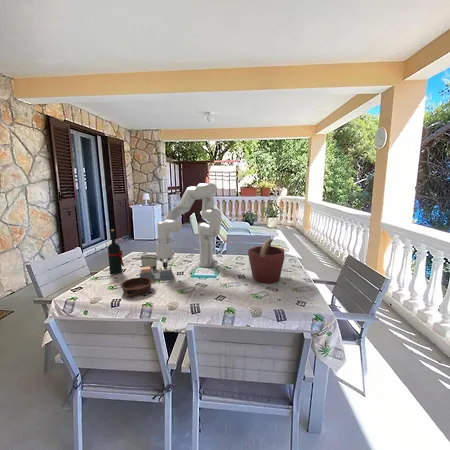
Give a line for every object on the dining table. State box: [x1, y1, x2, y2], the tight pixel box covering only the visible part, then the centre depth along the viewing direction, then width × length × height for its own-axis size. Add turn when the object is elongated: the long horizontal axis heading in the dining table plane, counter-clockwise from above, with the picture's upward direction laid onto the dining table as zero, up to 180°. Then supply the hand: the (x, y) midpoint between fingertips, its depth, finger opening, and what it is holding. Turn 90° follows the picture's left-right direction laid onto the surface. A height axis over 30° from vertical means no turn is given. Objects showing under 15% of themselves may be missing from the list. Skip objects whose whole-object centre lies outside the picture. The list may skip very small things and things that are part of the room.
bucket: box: [247, 238, 285, 285], centre depth 162 cm, size 24×22×25 cm
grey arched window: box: [140, 253, 158, 272], centre depth 183 cm, size 12×6×10 cm, turn 84°
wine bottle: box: [107, 229, 125, 275], centre depth 175 cm, size 8×10×30 cm
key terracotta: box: [141, 266, 151, 273], centre depth 165 cm, size 5×5×3 cm
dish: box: [119, 276, 154, 298], centre depth 147 cm, size 18×22×5 cm
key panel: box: [138, 266, 174, 281], centre depth 167 cm, size 21×10×5 cm, turn 105°
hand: (165, 268), depth 168 cm, fingers closed
